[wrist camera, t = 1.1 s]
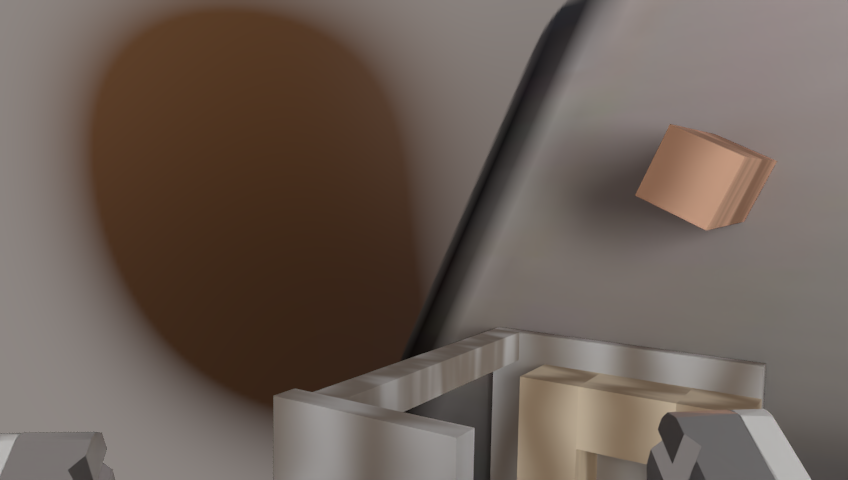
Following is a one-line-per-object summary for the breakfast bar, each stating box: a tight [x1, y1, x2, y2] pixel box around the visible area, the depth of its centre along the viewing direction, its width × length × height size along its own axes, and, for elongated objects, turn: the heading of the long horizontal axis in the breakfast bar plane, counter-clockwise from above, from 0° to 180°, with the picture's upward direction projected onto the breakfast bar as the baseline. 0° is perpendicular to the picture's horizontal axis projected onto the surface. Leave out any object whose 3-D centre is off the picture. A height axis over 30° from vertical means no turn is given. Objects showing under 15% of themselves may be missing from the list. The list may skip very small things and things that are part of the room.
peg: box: [635, 124, 777, 230], centre depth 43 cm, size 4×4×10 cm
